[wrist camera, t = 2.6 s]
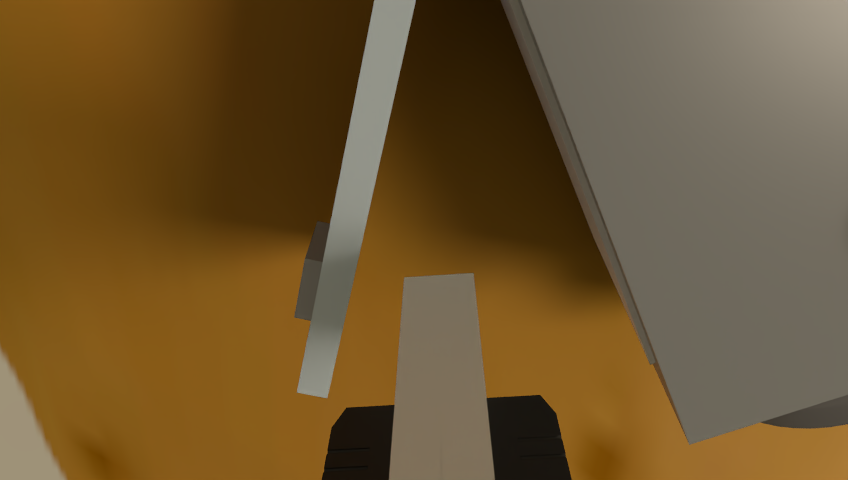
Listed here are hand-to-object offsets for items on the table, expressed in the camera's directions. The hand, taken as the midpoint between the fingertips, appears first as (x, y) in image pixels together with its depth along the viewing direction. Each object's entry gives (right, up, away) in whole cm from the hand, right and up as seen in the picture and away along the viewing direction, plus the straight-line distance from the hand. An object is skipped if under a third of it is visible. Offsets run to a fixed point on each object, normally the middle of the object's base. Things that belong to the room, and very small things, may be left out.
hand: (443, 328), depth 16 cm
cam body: (+8, +8, +8) cm, 14 cm away
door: (-2, +7, +7) cm, 10 cm away
